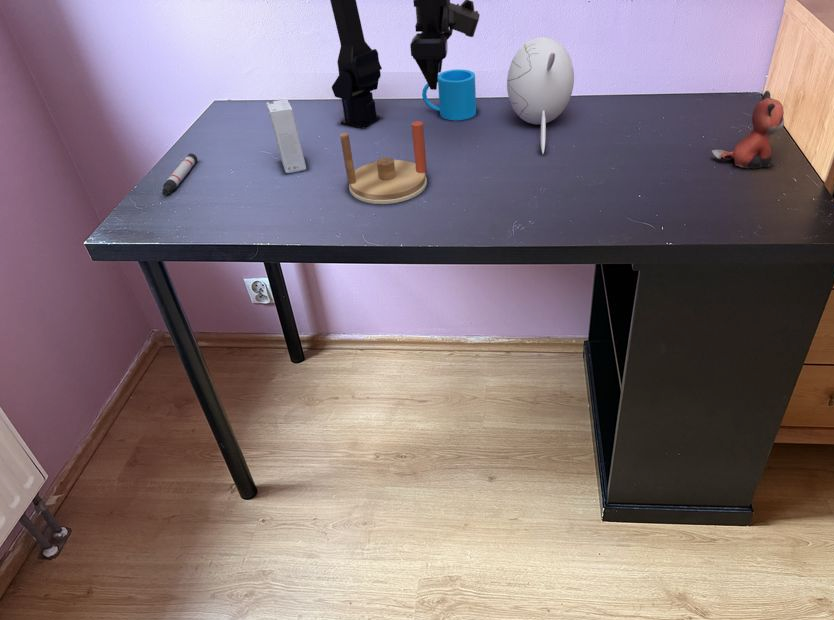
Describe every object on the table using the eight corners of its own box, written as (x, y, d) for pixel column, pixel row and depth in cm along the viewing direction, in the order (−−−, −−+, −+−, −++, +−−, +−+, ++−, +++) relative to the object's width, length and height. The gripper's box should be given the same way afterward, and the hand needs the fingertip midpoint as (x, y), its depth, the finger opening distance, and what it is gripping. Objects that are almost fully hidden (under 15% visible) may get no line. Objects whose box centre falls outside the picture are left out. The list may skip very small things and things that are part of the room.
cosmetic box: (307, 170, 129) (294, 108, 121) (284, 174, 128) (269, 112, 120) (302, 157, 133) (289, 97, 125) (280, 161, 132) (265, 101, 124)
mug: (478, 106, 150) (477, 69, 145) (473, 120, 144) (472, 82, 139) (426, 105, 152) (423, 69, 146) (420, 119, 146) (416, 82, 140)
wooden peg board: (334, 190, 120) (324, 137, 114) (378, 159, 129) (371, 108, 123) (398, 206, 115) (391, 151, 108) (439, 172, 124) (435, 120, 117)
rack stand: (333, 194, 121) (333, 191, 120) (378, 162, 130) (378, 159, 129) (399, 210, 115) (398, 207, 115) (441, 176, 124) (441, 173, 124)
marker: (189, 162, 133) (186, 153, 132) (198, 162, 133) (195, 153, 132) (160, 199, 122) (156, 189, 121) (170, 198, 122) (166, 189, 121)
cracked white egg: (509, 29, 140) (511, 48, 119) (574, 32, 140) (587, 52, 119) (503, 120, 150) (503, 153, 129) (563, 123, 150) (573, 157, 129)
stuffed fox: (706, 153, 127) (719, 90, 119) (765, 152, 127) (782, 88, 119) (716, 171, 121) (730, 106, 114) (778, 169, 121) (797, 104, 113)
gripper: (473, 3, 108) (475, 98, 119) (478, -24, 122) (480, 63, 133) (406, 4, 109) (414, 99, 120) (419, -22, 123) (425, 64, 133)
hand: (435, 80), depth 126 cm, fingers open, 9 cm apart
